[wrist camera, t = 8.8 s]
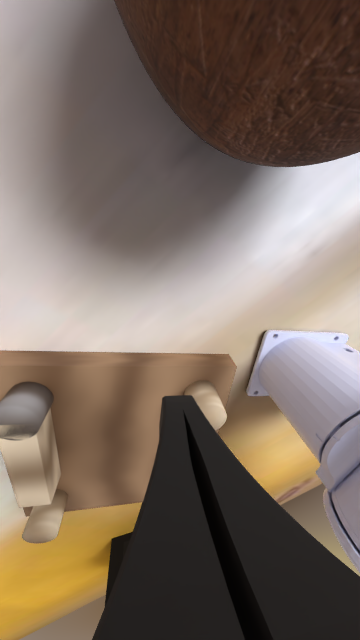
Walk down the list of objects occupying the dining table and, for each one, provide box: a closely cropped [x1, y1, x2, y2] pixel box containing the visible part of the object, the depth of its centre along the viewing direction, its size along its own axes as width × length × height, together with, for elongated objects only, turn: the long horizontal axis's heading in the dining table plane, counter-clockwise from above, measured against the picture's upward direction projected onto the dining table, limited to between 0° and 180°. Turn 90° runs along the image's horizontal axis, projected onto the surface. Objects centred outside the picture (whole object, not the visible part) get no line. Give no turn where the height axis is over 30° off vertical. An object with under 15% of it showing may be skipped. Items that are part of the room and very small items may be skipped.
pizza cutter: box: [0, 382, 61, 508], centre depth 17 cm, size 12×3×2 cm, turn 173°
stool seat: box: [0, 351, 237, 543], centre depth 20 cm, size 20×20×5 cm
